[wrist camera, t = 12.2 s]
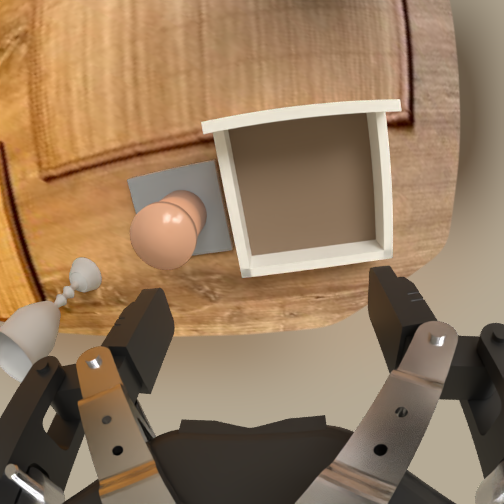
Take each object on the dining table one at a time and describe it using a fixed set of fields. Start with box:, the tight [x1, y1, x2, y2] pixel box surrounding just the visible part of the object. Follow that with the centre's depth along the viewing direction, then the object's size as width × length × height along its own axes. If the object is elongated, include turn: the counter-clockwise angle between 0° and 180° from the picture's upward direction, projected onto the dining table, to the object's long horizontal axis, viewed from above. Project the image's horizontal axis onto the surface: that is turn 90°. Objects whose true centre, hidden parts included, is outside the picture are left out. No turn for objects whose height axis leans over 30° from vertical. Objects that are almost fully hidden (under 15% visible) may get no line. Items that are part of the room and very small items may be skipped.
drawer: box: [201, 99, 401, 278], centre depth 29 cm, size 16×16×8 cm
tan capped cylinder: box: [130, 190, 207, 270], centre depth 30 cm, size 6×6×7 cm
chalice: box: [0, 257, 102, 382], centre depth 31 cm, size 7×7×18 cm
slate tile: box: [127, 159, 233, 256], centre depth 34 cm, size 10×10×1 cm
